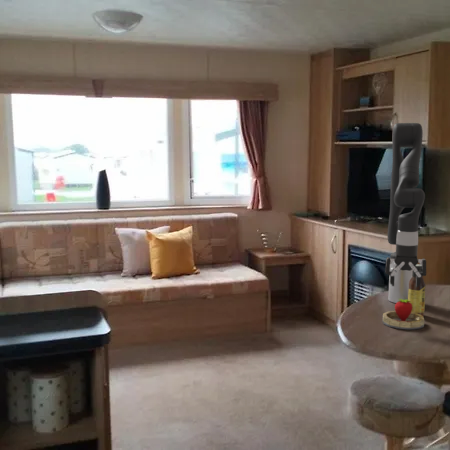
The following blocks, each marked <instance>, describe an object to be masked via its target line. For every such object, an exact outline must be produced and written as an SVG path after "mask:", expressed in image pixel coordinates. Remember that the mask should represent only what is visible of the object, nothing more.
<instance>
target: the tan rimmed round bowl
mask: <svg viewBox="0 0 450 450" xmlns="http://www.w3.org/2000/svg"><path fill="white" fill-rule="evenodd" d="M381 320H382V322H383V323H382V324H383V325H384V326H386V327H389V328H392V329H395V328H396V329H395V330H401V329H402V330H403V331H407V330H408V331H417V330H421V329H423V328H424V327H425V318H424V315H423V316H422V315H420V314H417V313H413V312H411V313H410V315H409V316H408V318H407V319H406V320H405V321H401V319H400V318H399V317H398V315H397V313H396V311H395V310H388V311H386V312H384V313H383V312H382V319H381Z"/></svg>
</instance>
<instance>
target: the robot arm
mask: <svg viewBox="0 0 450 450" xmlns="http://www.w3.org/2000/svg"><path fill="white" fill-rule="evenodd" d="M423 131H424V130H423V126H422V124H421V123H419V122H397V123H395V124H394V125H393V128H392V165H391V179H390V198H389V199H390V201H389V202H390V203H389V204H390V205H389V217H388V225H387V226H388V227H387V242H388V243H389V245H393V246H394V245H395V252H392V253H391V254H390V256H388V257H386V260H385V262H386V263H385V269H384V271H385V274H386V275H388V276H389V278H388V279H389V280H388V299H387V300H388V301H389V302H391V303H393V304H396V303H397V302H398V301H400V300H399V299H403V300H405V299H408V289H409V281H410V279H411V278H412V274H413V271H414V272H415V273H416V275H417V276H416V287H418V286H420V282H421V277H422V276H423V277H426V276H427V260H426V259H425V258H422V259H420V258H419V259H418V247H419V218H420V215H421V212H422V211H421V210H422V208H423V205H424V203H425V199H426V194H425V192H424V190H423V189H422V188H417V187H418V186H419V184H420V160H421V154H422V148H423V147H422V145H423V137H424V136H423V135H424V134H423ZM401 148H411V150H410V152H409V153H408V155H406V157H405V158H404V156H403V154H402V151H401ZM405 208H409V209H410V208H411V209H412V208H413V209H412V210H411V212H407V213H403V214H402V212H403V210H404V209H405ZM418 263H419V264H420V265H422V272H420V273H419V271H418V270H417V269H416V267H415V266H416V265H417V264H418Z"/></svg>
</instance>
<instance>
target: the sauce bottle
mask: <svg viewBox="0 0 450 450" xmlns="http://www.w3.org/2000/svg"><path fill="white" fill-rule="evenodd" d="M415 267H416V269H417V270H418V271H419V273H420V272H422V265H420V263H419V264H417V265H416V266H415ZM416 276H417V275H416V273H415V272H414V271H412V278H411V279H410V281H409V289H408V301H411V302H410V303H411V304H412V311H411V312H413V313H417V314H420V315H422V316H423V317H424V315H425V309H426V307H425V305H426V303H425V302H426V282H425V280H424V276H422V277H421V282H420V286H418V287H416Z"/></svg>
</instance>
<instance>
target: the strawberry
mask: <svg viewBox="0 0 450 450" xmlns="http://www.w3.org/2000/svg"><path fill="white" fill-rule="evenodd" d="M399 300H400V301H398V302H397V303H394V311H396V313H397V315H398V317H399V318H400V319H401V321H405V320H406V319H407V318H408V316H409V315H410V313H411V311H412V304H411V303H410V302H411V301H408V299H405V300H403V299H399Z"/></svg>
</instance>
